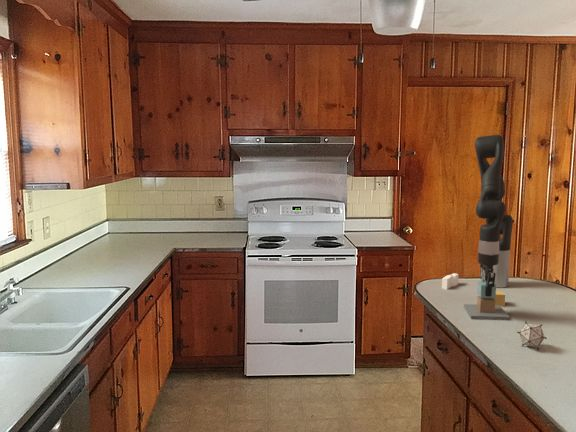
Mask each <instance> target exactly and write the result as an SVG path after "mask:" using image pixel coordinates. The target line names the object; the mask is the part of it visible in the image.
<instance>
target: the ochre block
mask: <svg viewBox="0 0 576 432" xmlns="http://www.w3.org/2000/svg"><path fill="white" fill-rule="evenodd" d="M494 299H495V305H500V307H505V303H506V302H505V301H506V294H505V293H504V292H503V290H496V298H494Z"/></svg>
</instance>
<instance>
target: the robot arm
mask: <svg viewBox="0 0 576 432" xmlns="http://www.w3.org/2000/svg"><path fill="white" fill-rule="evenodd" d="M504 141H505V140H504V138H503V136H502V135H501V134H491V135H490V134H489V135H483V136H478V137H476V138H475V141H474V149H475V155H476V159H477V163H478V168H479V174H480V186H481V188H480V196H479V199H478V201H477V204H476V208H475V214H476V216H477V217H478V218H479V219H485V224H482V225H481V226H480V227H479V241H478V247H477V249H478V250H477V263H478V264H479V267H480V269H479V271H480V272H479V273H480V274H479V275H480V281H485V283H486V285H485V286H486V292H485V295H486V296H492V287H494V284H495V285H496V288H507V287H509V278H510V277H509V276H510V264H511V261H510V258H511V244H512V233H513V226H514V225H513V223H514V219H513V216H512V215H510V214H506V210H507V206H506V204H505V203H504V201H503V198H504V197H505V193H506V188H505V180H504V178H503V176H502V169H503V164H504V156H505V142H504ZM492 158H494V159H493V161H492V163H491V164H490V163H489V161H488V159H492ZM500 235H502V237H500ZM489 282H491V284H489Z"/></svg>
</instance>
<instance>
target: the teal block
mask: <svg viewBox="0 0 576 432" xmlns="http://www.w3.org/2000/svg"><path fill="white" fill-rule="evenodd" d="M489 284H491V282H489ZM485 285H486V283H485V281H481V280H478V281H477V296H480V297H481V298H496V291H497V287H496V285H495V284H494V287H492V296H486V295H485V292H486V286H485Z"/></svg>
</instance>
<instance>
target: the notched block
mask: <svg viewBox="0 0 576 432" xmlns="http://www.w3.org/2000/svg"><path fill="white" fill-rule="evenodd" d="M457 285H459V273H454V272H453V273H451V274H447V275H445V276H444V277H443V278H442V279H441V289H442V290H449V289H451V287H456V286H457Z"/></svg>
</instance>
